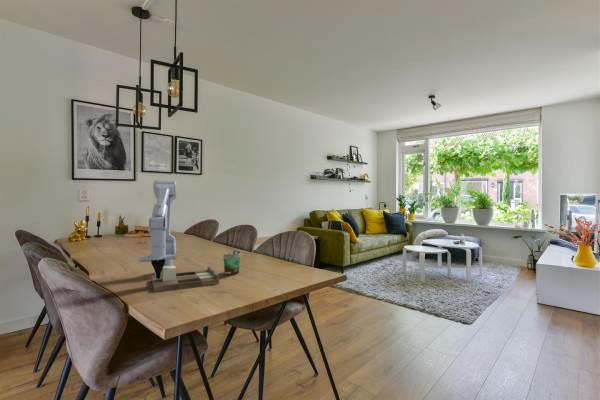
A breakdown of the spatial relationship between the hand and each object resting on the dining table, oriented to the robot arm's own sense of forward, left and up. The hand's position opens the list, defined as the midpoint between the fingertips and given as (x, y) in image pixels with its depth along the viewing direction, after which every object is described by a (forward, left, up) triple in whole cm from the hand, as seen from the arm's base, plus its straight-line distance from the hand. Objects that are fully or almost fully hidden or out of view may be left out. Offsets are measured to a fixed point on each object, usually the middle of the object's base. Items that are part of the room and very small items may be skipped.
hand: (158, 278), depth 130 cm
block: (0, +4, -1) cm, 4 cm away
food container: (-5, +34, -3) cm, 35 cm away
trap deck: (0, +11, -3) cm, 11 cm away
